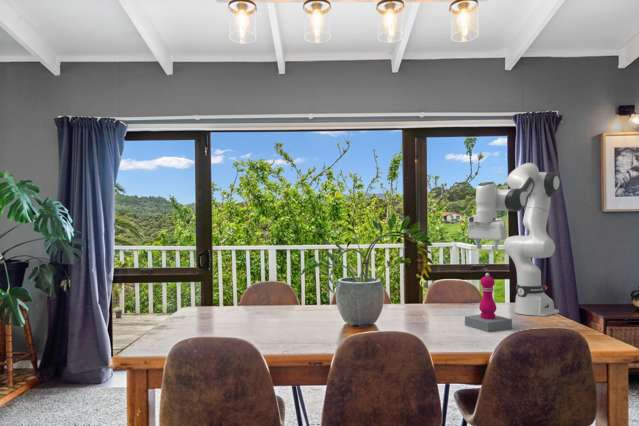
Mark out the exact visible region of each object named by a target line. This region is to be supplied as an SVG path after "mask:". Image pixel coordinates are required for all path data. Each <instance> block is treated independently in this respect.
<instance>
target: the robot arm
mask: <svg viewBox="0 0 639 426" xmlns="http://www.w3.org/2000/svg"><path fill="white" fill-rule="evenodd" d="M506 182H507V185H508V187H509V188H508V189H498V188H497V187H496V184H495V182H493V181H486V182H485V181H484V182H482V183H478V184H477V186H476V191H475V205H476V210H475V214H473V215H471V216H469V217H468V218H467V222H468V223H467V236H468V238H469V239H473V241H474V243H475V245H476V249H478V250H481V249H482V247H483V245H482V244H481V243H480V242H481V240H493V242H494V243H493V245H492V247H491V248H492V249H491V250H493V251H497V250H498V249H499V245H500V243H501V241H504V243H503V249H504V252H505V253H506V254H507V255H508V256H509V257H510V259H512V262H513V263H514V265H515V270H516V281H517V282H516V286H515V288H516V290H515V291H516V295H515V301H514V305H515V306H514V307H513V312H514V313H515V314H518V315H519V314H520V315H524V316H534V317H535V316H539V317H540V316H541V317H548V316H551V315H555V314H558V313H560V310H559V309H556V308H555V303H554V301H553V299H552V298H550V297H549V296H548V295H547V294H546V293H545V291H547V289H548V286H547V285H542V271H541V269H540V267H538V266H537V265H536V264H534V263H533V261H532V259H546V258H550V257H552V256H553V255H554V253H555V250H556V246H555V243H554V240H553V239H552V238H551V237H550V236H549V234H548V232H547V223H548V217H549V215H550V208H551V197H553V195H554V194H555V193H556V192H557V191H558V190H559V188H560V185H561V184H560V182H561V181H560V177H559V175H558V174H557V173H555V172H550V171H549V172H545V171H540V170H539V167H538V166H537V165H536V164H535V163H534V162H533V163H532V162H526V163H523V164H520V165H519V166H517V167H516V168H515V169H513V170H512V171H511V172H510V173H509V174H508V175H507V181H506ZM524 207H525V211H524V215H523V219H522V225H523V226H524V228H525V229H527V230H528V231H529V234H528V235H512V236H508V233H507V226H506V221H505V220H504V219H503V218H498V212H509V211H510V212H520V211H521V210H523V209H524ZM544 290H545V291H544Z"/></svg>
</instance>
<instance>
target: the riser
mask: <svg viewBox="0 0 639 426" xmlns="http://www.w3.org/2000/svg"><path fill="white" fill-rule="evenodd" d="M464 326H465V327H469V328H473V329H477V330H480V331H484V332H486V333H492V332H497V331H503V330H510V329H513V319H512V318H508V317H504V316H501V315H496V314H495V319H483V318H481V313H480V314H473V315H468V316H467V315H465V316H464Z"/></svg>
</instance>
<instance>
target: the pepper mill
mask: <svg viewBox="0 0 639 426" xmlns="http://www.w3.org/2000/svg"><path fill="white" fill-rule="evenodd" d="M484 274H485V276H483V277H481V278H480V285H481V291H482V298H481V301H480V303H479V309H478V310H479V311H480V312H481V313H480V314H481V318H483V319H495V315H496V313H495V312H496V311H497V305H496V302H495V300H494V297H493V292H494V291H495V290H494V286H495V284H496V283H495V279H494V278H493V277H492V276H490V273H489V272H486V273H484Z"/></svg>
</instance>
